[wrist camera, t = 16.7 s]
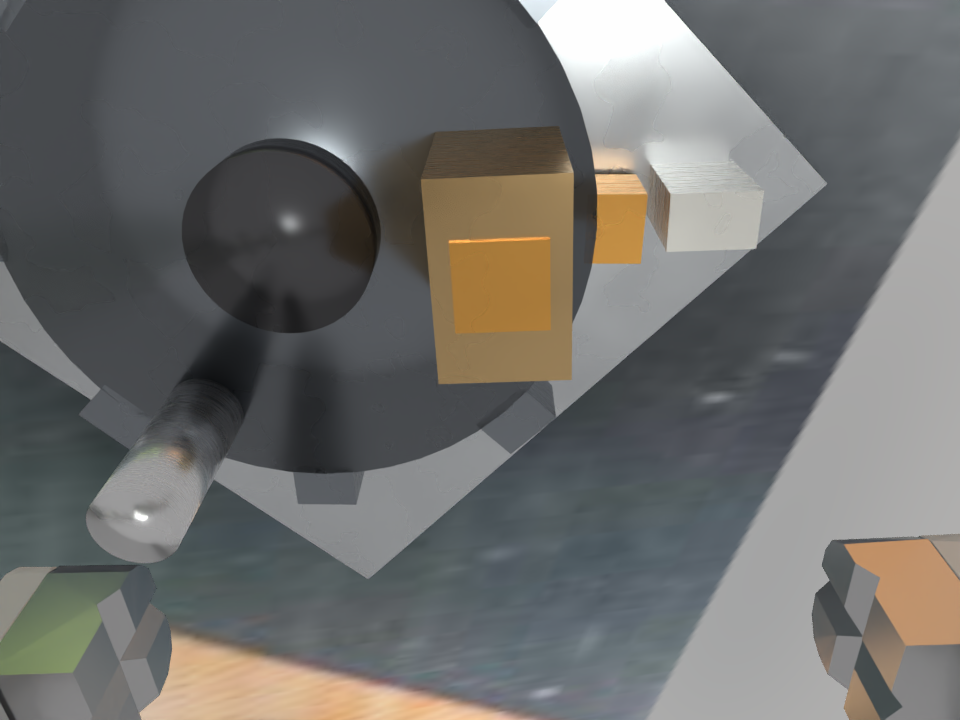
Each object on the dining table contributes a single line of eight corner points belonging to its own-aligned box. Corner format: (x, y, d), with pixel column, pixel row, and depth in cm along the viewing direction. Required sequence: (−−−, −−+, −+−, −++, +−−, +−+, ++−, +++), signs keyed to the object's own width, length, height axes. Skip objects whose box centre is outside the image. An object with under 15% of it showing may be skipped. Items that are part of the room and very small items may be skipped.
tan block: (558, 301, 22) (572, 382, 18) (448, 305, 22) (438, 386, 18) (558, 126, 20) (574, 173, 16) (435, 131, 20) (420, 180, 16)
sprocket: (608, 471, 28) (642, 637, 21) (71, 466, 28) (-59, 628, 22) (670, -194, 18) (769, -267, 12) (-142, -187, 19) (-491, -254, 12)
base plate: (371, 561, 32) (356, 638, 28) (-159, 212, 25) (-267, 257, 21) (815, 175, 24) (870, 216, 20) (210, -502, 17) (134, -618, 13)
